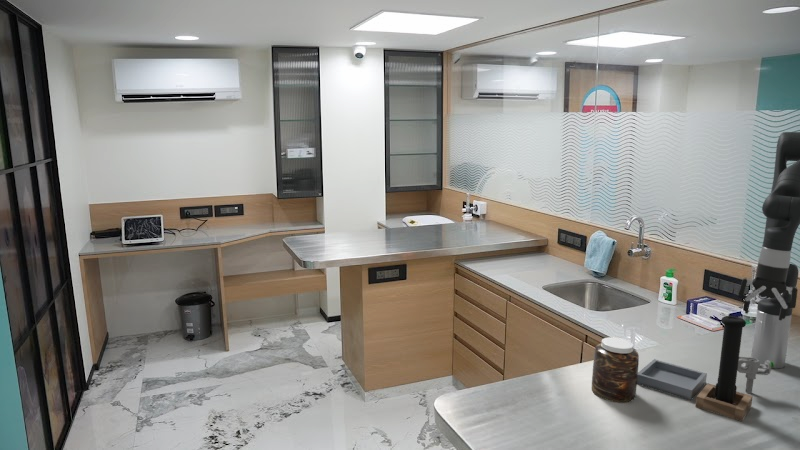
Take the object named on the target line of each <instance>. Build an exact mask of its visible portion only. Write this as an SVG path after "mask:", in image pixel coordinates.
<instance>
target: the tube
mask: <svg viewBox="0 0 800 450" xmlns="http://www.w3.org/2000/svg"><path fill="white" fill-rule="evenodd" d="M721 323H722V324H723V325H724V326H723V327H724V328H723V334H722V343H721V351H720V360H719V361H720V362H719V368H718V376H717V382H716V383H715V385H716V387H715V396H716V398H715V399H716V400H719V401H723V402H726V403H729V404H733V402H734V398H735V397H736V391H737V388H738V387H737V385H736V382H737V376H738V371H737V369H738V361H739V357H740V352H741V343H742V338H743V337H742V336H743V328H745V327H746V325H747V322H746V320H745V319H743V318H742V317H738V316H733V315H726V316H723V317H721ZM733 405H734V404H733Z"/></svg>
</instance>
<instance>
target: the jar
mask: <svg viewBox="0 0 800 450" xmlns="http://www.w3.org/2000/svg"><path fill="white" fill-rule="evenodd" d="M594 348H595V349H594V353H593V354H594V355H593V361H592V363H593V365H592V377H591V392H592V393H593V394H594V395H596V396H597V397H599V398H600V399H603V400H606V401H609V402H614V403H630V402H632V401H634V400H635V399H636V397H637V395H636V394H637V387H638V386H637V385H638V384H637V377H638V372H639V364H640V363H639V361H640V360H639V359H640V357H639V353H638V351H637V350H636V349H634V344H633V343H632V342H631V341H630V340H628V339H625V338H620V337H613V336H612V337H611V336H610V337H605V338H602V339H601V343H599V344H597V345H596V346H595V347H594Z"/></svg>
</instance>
